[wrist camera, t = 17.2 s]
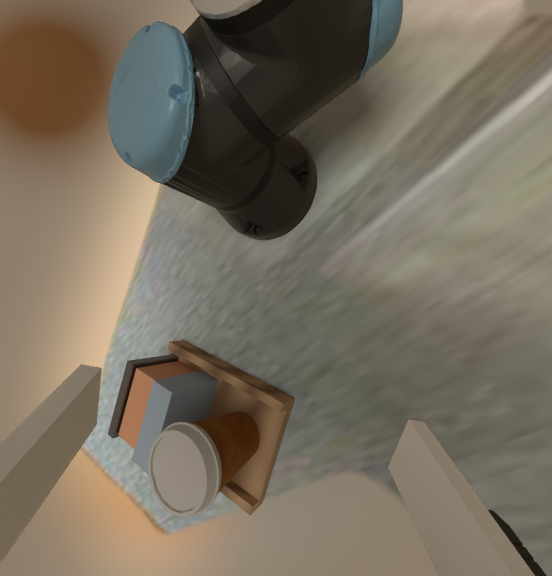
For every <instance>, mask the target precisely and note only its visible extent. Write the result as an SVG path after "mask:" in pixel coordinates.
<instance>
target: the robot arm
mask: <svg viewBox="0 0 552 576" xmlns="http://www.w3.org/2000/svg"><path fill="white" fill-rule="evenodd" d="M190 1H191V3H192V5H193V6H194V8H195V9H196V10H197V12H198V13H199V14H200V16H199V17H198V18H197V19H196V20H195V21H194V23H193V24H192V25H191V26H190V27H189V28H188V29H187V30H186V31H185V32H184V33H183V34H182V33H181V31H180V30H178V29H177V28H176V27H173V26H171V25H169V24H167V23H164V22H154V23H152V25H151V26H150V25H147V26H145V27H143V28H142V29H140V30H139V32H137V33H136V34H135V36H134V37H133V38H132V39H131V40H130V42H129V44H128V45H127V47H126V48H125V50H124V52H123V54H122V56H121V58H120V60H119V62H118V65H117V68H116V71H115V73H114V77H113V80H112V84H111V89H110V96H109V103H108V125H109V130H110V135H111V139H112V142H113V145H114V147H115V149H116V151H117V153H118V154H119V156H120V157H121V158H122V159H123V160H124V161H125V162H126V163H127V164H128V165H130V166H131V167H133V168H135V169H137V170H138V171H140V172H142V173H143V174H145V175H147V176H148V177H150V178H151V179H152V180H153V181H155V182H158V183H162V184H164V185H166V186H169V187H171V188H173V189H175V190H177V191H180V192H182V193H184V194H186V195H188V196H191V197H193V198H195V199H197V200H199V201H202V202H204V203H206V204H208V205H211V206H213V207H215V208H216V209H217V210H218V211H219V212H220V214H221V215H222V216H223V217H224V218H225V220H226V221H227V222H228V223H229V224H230V226H231V227H233V228H234V229H235V230H236V231H238V232H239V233H241V234H244V235H246V236H249V237H251V238H254V239H260V240H268V239H273V238H277V237H279V236H282V235H284V234H285V233H287V232H289V231H290V230H292V229H293V228H294V227H295V226H296V225H297V224H298V223H299V222H300V221H301V220H302V219H303V217H304V216H305V215H306V213H307V212H308V210H309V208H310V206H311V204H312V201H313V199H314V195H315V191H316V185H317V174H316V168H315V164H314V161H313V159H312V157H311V155H310V154H309V152H308V151H307V150H306V149H305V148H304V146H303V145H302V144H301V143H300V142H299V141H298V140H297V139H295V138H294V137H292V136H291V135H289V134H287V133H289V132H290V131H291V130H293V129H294V128H295V127H297V126H298V125H299V124H301V123H302V122H303V121H305V120H306V119H307V118H309V117H310V116H311V115H313V114H314V113H315V112H317V111H318V110H319V109H321V108H322V107H323V106H325V105H326V104H327V103H329V102H330V101H331V100H333V99H334V98H335V97H337V96H338V95H339V94H340V93H342V92H343V91H344V90H346V89H347V88H348V87H350V86H351V85H352V84H355V83H357V81H359V80H360V79H361V78H362V77H363V76H364V75H365V73H366V72H367V71H368V70H369V69H370V68H371V67H373V66H374V65H375V64H376V63H377V62H378V61H379V60H381V59H382V58H383V57H384V56H385V55H386V54H387V53H388V52H389V50H390V49H391V48H392V46H393V45H394V43H395V41H396V38H397V36H398V33H399V30H400V26H401V21H402V13H403V0H190ZM100 379H101V368H99V367H93V366H87V365H80V366H79V367H78V368H77V369H76V370H75V371H74V372H73V373H72V374H71V375H70V376H69V377H68V378H67V379H66V380H65V381H64V382H63V383H62V384H61V385H60V386H59V387H58V388H57V389H56V390H55V391H54V392H53V393H52V394H51V395H50V396H49V397H48V398H47V399H46V400H44V402H42V403H41V404H40V405H39V406H38V407H37V408H36V409H35V410H34V411H33V412H32V413H31V414H30V415H29V416H28V417H27V418H26V419H25V420H24V421H23V422H22V423H21V424H20V425H19V426H18V427H17V428H16V429H15V430H14V431H13V432H12V433H11V434H10V435H9V436H8V437H7V438H6V439H5V440H4V441H3V442H2V443H1V444H0V564H1V562H2V561H3V560H4V558H5V557H6V555H7V554H8V552H9V551H10V549H11V548H12V546H13V545H14V544H15V542H16V541H17V539H18V538H19V536H20V535H21V533H22V532H23V531H24V529H25V528H26V526H27V525H28V523H29V522H30V520H31V519H32V517H33V516H34V515H35V513H36V512H37V510H38V509H39V507H40V506H41V504H42V503H43V501H44V500H45V499H46V497H47V496H48V494H49V493H50V491H51V490H52V488H53V487H54V486H55V484H56V483H57V481H58V480H59V478H60V477H61V475H62V474H63V473H64V471H65V470H66V468H67V467H68V465H69V464H70V462H71V460H72V459H73V458H74V456H75V455H76V454H77V452H78V451H79V449H80V448H81V446H82V445H83V444H84V442H85V441H86V439H87V438H88V436H89V435H90V433H91V432H92V431H93V429H94V428H95V426H96V424H97V413H98V402H99V391H100ZM388 469H389V471H390V473H391V475H392V477H393V479H394V481H395V484H396V486H397V488H398V490H399V492H400V494H401V496H402V498H403V500H404V503H405V505H406V507H407V509H408V511H409V513H410V515H411V517H412V520H413V522H414V524H415V526H416V528H417V530H418V532H419V534H420V536H421V539H422V541H423V543H424V545H425V547H426V549H427V551H428V553H429V556H430V558H431V560H432V562H433V564H434V566H435V568H436V570H437V573H438V575H439V576H546V574H545V573H544V572H543V570H542V569H541V568H540V566H539V565H538V564H537V562H534V560H533V557H532V556H531V554H530V553H529V552H528V550H527V549H526V548H525V547H523V546H522V542H521V541H520V540H519V538H518V537H517V536H516V534H515V533H514V532H513V530H512V529H511V528H510V526H509V525H508V524H506V523H505V522H504V521H503V520H502V519H501V518H500V517H499V516H498V515H497V514H496V513H495V512H494V511H492V510H487V508H486V507H485V506H484V504H483V503H482V501H481V500H480V499H479V497H478V496H477V495H476V493H475V492H474V490H473V489H472V488H471V486H470V485H469V483H468V482H467V481H466V479H465V478H464V477H463V475H462V474H461V472H460V471H459V470H458V468H457V467H456V465H455V464H454V463H453V461H452V460H451V459H450V457H449V456H448V454H447V453H446V452H445V450H444V449H443V447H442V446H441V445H440V443H439V442H438V441H437V439H436V438H435V436H434V435H433V434H432V432H431V431H430V429H429V428H428V427H427V425H426V424H425V422H421V421H415V420H409V419H408V422H407V424H406V426H405V429H404V431H403V433H402V436H401V438H400V440H399V443H398V445H397V447H396V450H395V452H394V454H393V457H392V459H391V461H390V464H389V466H388Z"/></svg>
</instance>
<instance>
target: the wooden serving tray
mask: <svg viewBox="0 0 552 576" xmlns="http://www.w3.org/2000/svg"><path fill="white" fill-rule="evenodd" d="M168 349H169V350H171V351H172V352H174V353H173V354H174V355H176V356H178V357H179V360H178V361H181V362H183V363H184V364H186V365H188V366H190V367H191V368H193V369H195V370H197V371H200V370H203V371H205V372H206V373H208V374H210V375H212V376H213V377H215V378H217V379H219V381H218V385H217V388H216V392H215V395H214V398H213V402H212V405H211V409H210V412H209V416H208V418H212V417H216V416H220V415H225V414H229V413H233V412H243V413H246V414H247V415H249V416H250V417H251V418H252V419H253V420H254V422H255V423H256V425H257V428H258V430H259V436H260V443H259V447H258V450H257V452H256V453H255V454H254V455H253V456H252V457H251V458H250V460H248V462H246V464H245V465H244V466H243V467H242V468H241V469H240V470H239V471H238V472H237V473H236V474H235V476H233V478H232V479H231V480H230V481H229V482H228V483H227V484H226V485H225V486H224V487H223V488H222V489H221V491H220V492H222V493H223V494H224V495H225V496H227V497H228V498H229V499H230V500H232V501H233V502H234V503H235V504H237V505H238V506H239V507H240V508H242V509H243V510H244V511H245V512H247V513H248V514H249V515H251V514H252V513H253V512H254V511H255V510H256V509H257V508H258V507H259V506H260V505H261V504H262V502H263V499H264V496H265V493H266V489H267V486H268V483H269V480H270V476H271V473H272V470H273V467H274V463H275V460H276V457H277V454H278V450H279V447H280V444H281V441H282V437H283V434H284V431H285V428H286V424H287V421H288V418H289V415H290V411H291V408H292V405H293V402H294V398H293V397H291V396H289V395H287V394H285V393H283V392H281V391H279V390H278V389H276V388H274V387H272V386H270V385H268V384H266V383H264V382H262V381H260V380H258V379H256V378H255V377H253V376H251V375H249V374H247V373H245V372H243V371H241V370H239V369H237V368H235V367H233V366H232V365H230V364H228V363H226V362H224V361H222V360H220V359H218V358H216V357H214V356H212V355H210V354H209V353H207V352H205V351H203V350H201V349H199V348H197V347H195V346H193V345H191V344H189V343H187V342H186V341H184V340H183V341H173V342H169V346H168Z"/></svg>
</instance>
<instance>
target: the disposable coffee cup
mask: <svg viewBox="0 0 552 576" xmlns="http://www.w3.org/2000/svg"><path fill="white" fill-rule="evenodd" d="M259 443H260V436H259V430H258V428H257V425H256V423H255V422H254V420H253V419H252V418H251V417H250V416H249V415H247V414H246V413H243V412H233V413H229V414H225V415H220V416H216V417H212V418H207V419H203V420H199V421H195V422H191V423H188V422H177V423H173V424H171V425H169V426H168V427H167V428H166V429H165V430H164V431H163V432H162V433H161V435H159V436H158V437H157V438H156V440H155V441H154V443H153V445H152V447H151V450H150V453H149V459H148V472H149V479H150V483H151V487H152V489H153V492H154V494H155V496H156V498H157V499H158V501H159V502H160V504H161V505H162V506H163V507H164V508H165V509H166V510H167V511H168V512H169V513H171V514H173V515H175V516H178V517H188V516H196V515H199V514H202V513H203V512H205V511H206V510H207V509H208V508H209V507H210V506H211V505H212V504H213V502H214V500H215V498H216V496H217V494H218V493H219V491H221V489H222V488H223V487H224V486H225V485H226V484H227V483H228V482H229V481H230V480H231V479H232V478H233V476H235V474H236V473H237V472H238V471H239V470H240V469H241V468H242V467H243V466H244V465H245V464H246V462H248V460H250V458H251V457H252V456H253V455H254V454H255V453H256V452H257V450H258V447H259Z"/></svg>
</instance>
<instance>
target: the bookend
mask: <svg viewBox="0 0 552 576" xmlns="http://www.w3.org/2000/svg"><path fill="white" fill-rule="evenodd" d="M178 360H179V357H178V356H176V355H174V354H173V353H172V354H170V355H166V356H159V357H151V358H144V359H137V360H130V361H127V365H126V368H125V372H124V376H123V379H122V383H121V387H120V391H119V394H118V398H117V402H116V406H115V409H114V413H113V417H112V421H111V424H110V428H109V432H108V435H109V436H111V437H112V438H115V437H118V436H119V435H118V434H119V431H120V427H121V423H122V419H123V416H124V412H125V408H126V405H127V401H128V397H129V394H130V390H131V386H132V382H133V379H134V375H135V371H136V368H140V367H146V366H152V365H158V364H164V363H170V362H176V361H178Z"/></svg>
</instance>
